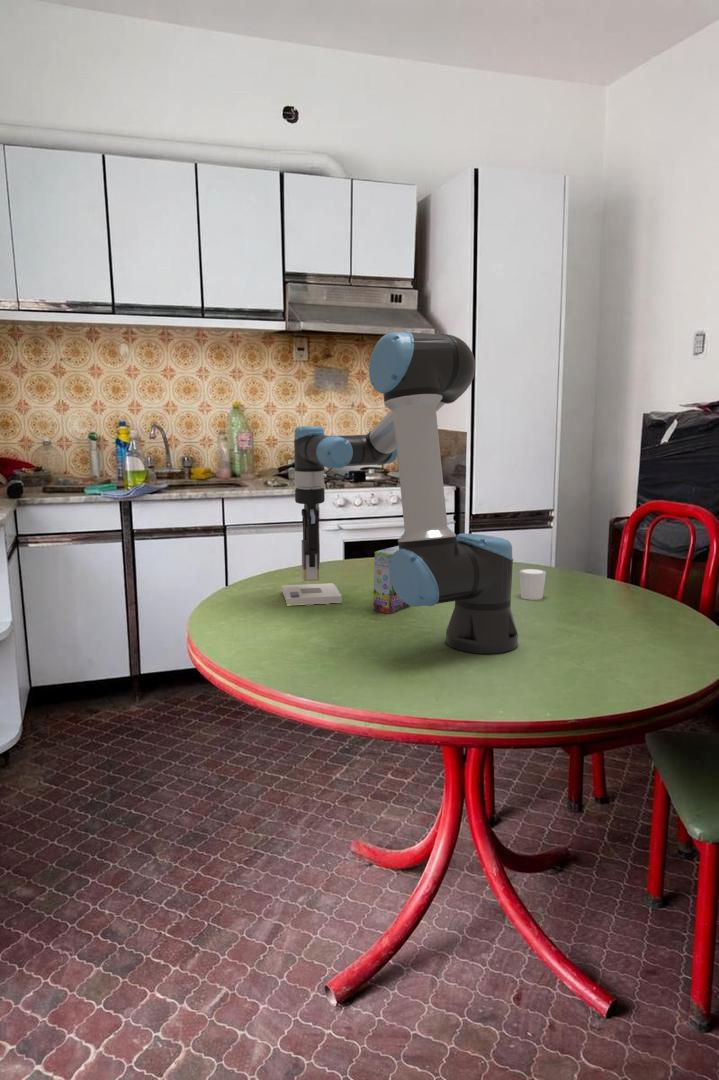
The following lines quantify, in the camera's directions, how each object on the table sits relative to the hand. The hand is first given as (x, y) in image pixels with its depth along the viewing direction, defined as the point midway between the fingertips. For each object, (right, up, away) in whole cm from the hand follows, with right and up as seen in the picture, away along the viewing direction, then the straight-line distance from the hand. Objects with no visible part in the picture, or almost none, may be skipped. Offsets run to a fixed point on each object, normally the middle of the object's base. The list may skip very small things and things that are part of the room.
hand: (310, 576), depth 197 cm
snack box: (+25, -7, -5) cm, 26 cm away
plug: (0, -1, 0) cm, 1 cm away
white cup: (+58, -6, +2) cm, 58 cm away
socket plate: (0, -6, +1) cm, 6 cm away
